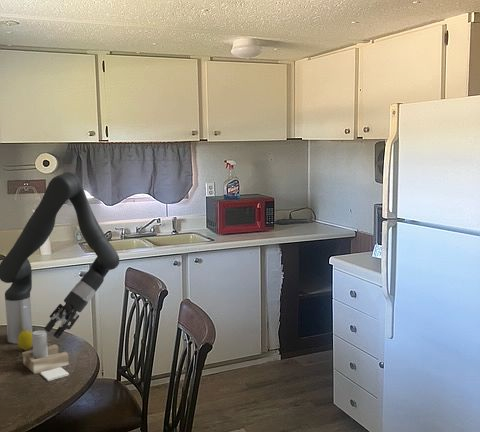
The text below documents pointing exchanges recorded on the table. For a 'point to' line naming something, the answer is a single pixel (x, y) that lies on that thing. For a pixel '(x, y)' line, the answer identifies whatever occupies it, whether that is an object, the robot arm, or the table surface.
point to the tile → (54, 373)
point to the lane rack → (45, 360)
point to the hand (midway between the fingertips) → (50, 333)
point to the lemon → (25, 340)
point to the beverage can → (39, 344)
